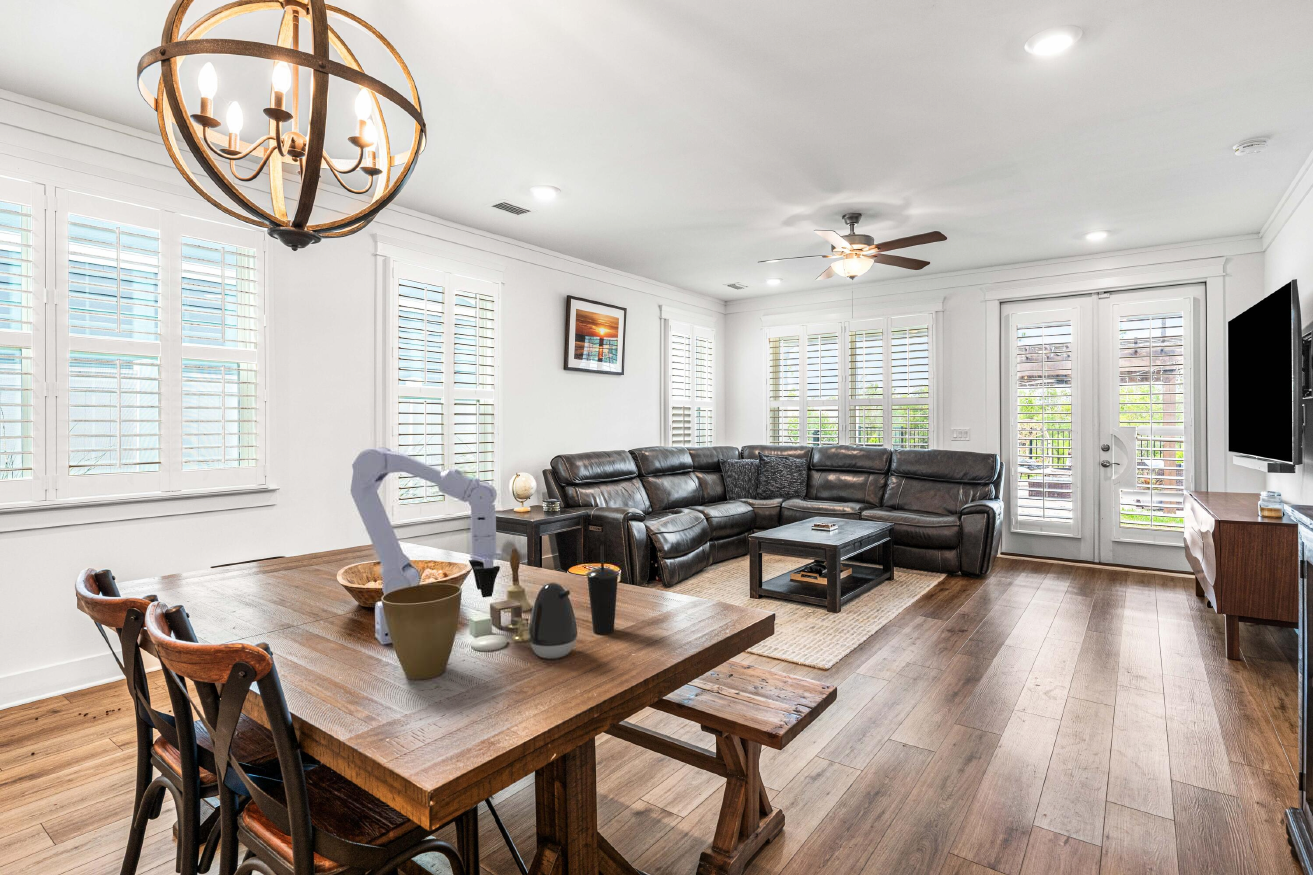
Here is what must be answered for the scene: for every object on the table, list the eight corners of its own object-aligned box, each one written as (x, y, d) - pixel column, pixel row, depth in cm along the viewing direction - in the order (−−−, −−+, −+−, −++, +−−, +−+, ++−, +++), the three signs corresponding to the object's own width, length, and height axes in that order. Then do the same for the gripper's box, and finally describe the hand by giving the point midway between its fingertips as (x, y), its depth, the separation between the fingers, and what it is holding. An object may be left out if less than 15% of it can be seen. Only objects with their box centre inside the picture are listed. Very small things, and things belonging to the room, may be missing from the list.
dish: (478, 653, 139) (477, 648, 139) (466, 643, 145) (466, 639, 145) (512, 646, 143) (511, 641, 143) (499, 637, 149) (499, 632, 149)
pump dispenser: (551, 667, 130) (549, 591, 130) (518, 655, 137) (517, 584, 137) (588, 653, 138) (587, 581, 138) (556, 642, 145) (554, 574, 144)
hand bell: (514, 614, 167) (513, 552, 167) (493, 609, 172) (492, 549, 172) (539, 606, 174) (537, 547, 173) (518, 602, 179) (517, 544, 178)
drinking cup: (615, 637, 148) (613, 549, 147) (582, 635, 149) (581, 548, 149) (623, 626, 155) (622, 543, 155) (592, 625, 157) (591, 542, 156)
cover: (499, 629, 155) (498, 608, 155) (490, 623, 160) (489, 603, 159) (522, 625, 158) (521, 604, 158) (512, 619, 163) (512, 599, 163)
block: (475, 638, 149) (474, 621, 149) (469, 634, 152) (469, 617, 152) (492, 635, 151) (491, 618, 151) (486, 630, 155) (485, 614, 154)
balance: (522, 648, 142) (522, 621, 142) (504, 635, 151) (503, 610, 151) (538, 644, 144) (537, 618, 144) (519, 632, 153) (518, 607, 153)
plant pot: (437, 653, 139) (435, 579, 139) (478, 670, 130) (477, 590, 129) (368, 675, 128) (366, 594, 127) (409, 695, 118) (407, 607, 118)
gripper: (506, 538, 148) (507, 598, 148) (495, 529, 161) (496, 583, 161) (474, 541, 145) (475, 601, 145) (465, 531, 158) (466, 587, 158)
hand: (484, 592), depth 153 cm, fingers open, 7 cm apart
